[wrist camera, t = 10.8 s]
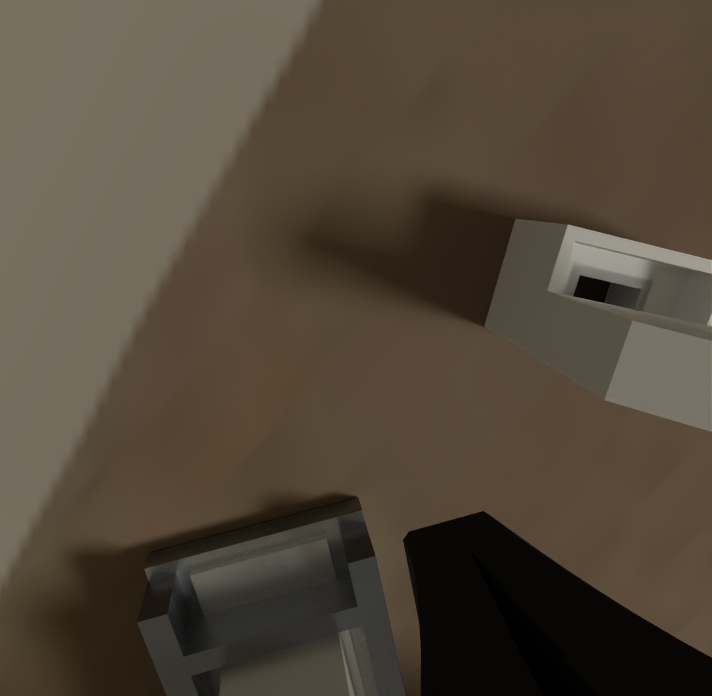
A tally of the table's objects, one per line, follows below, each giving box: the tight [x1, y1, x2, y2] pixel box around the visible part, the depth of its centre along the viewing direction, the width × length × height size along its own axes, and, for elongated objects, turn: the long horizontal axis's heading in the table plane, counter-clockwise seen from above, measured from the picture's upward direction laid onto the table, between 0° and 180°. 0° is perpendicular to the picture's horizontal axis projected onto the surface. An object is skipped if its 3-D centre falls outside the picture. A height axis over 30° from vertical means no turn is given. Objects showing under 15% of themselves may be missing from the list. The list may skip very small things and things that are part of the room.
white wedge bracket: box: [484, 219, 712, 432], centre depth 15 cm, size 4×10×9 cm
